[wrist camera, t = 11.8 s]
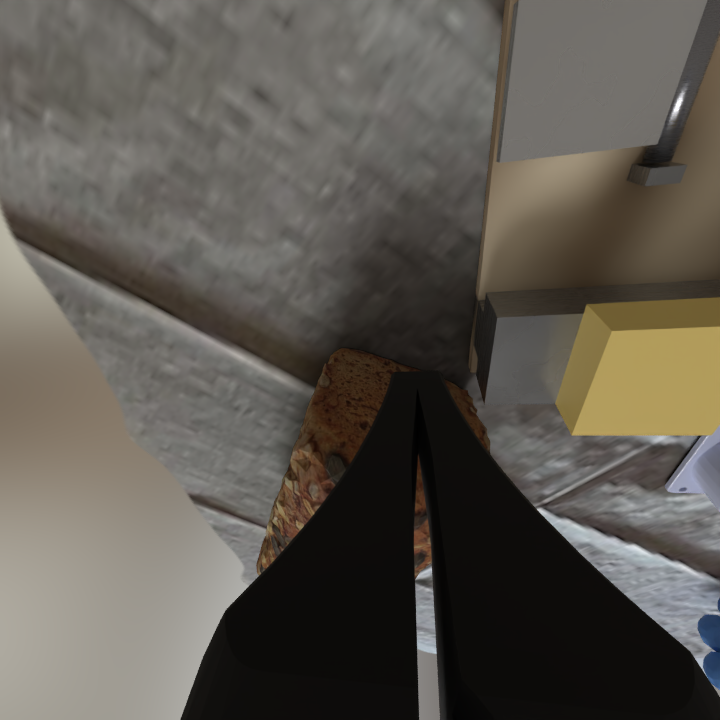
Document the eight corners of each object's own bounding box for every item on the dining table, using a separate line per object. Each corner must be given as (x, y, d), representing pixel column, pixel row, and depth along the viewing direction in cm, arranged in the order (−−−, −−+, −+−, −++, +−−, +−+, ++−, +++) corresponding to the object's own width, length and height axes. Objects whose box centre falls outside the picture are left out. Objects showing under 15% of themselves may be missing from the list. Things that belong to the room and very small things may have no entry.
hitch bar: (997, -137, 9) (1518, -352, 5) (707, 344, 19) (799, 414, 14) (509, -42, 11) (577, -137, 7) (469, 351, 20) (487, 416, 16)
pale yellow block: (682, 261, 15) (795, 323, 11) (637, 357, 18) (711, 435, 14) (554, 270, 16) (612, 330, 12) (532, 360, 19) (571, 435, 15)
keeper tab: (741, -61, 10) (769, -74, 9) (661, 158, 13) (678, 160, 12) (514, -22, 11) (524, -32, 10) (492, 177, 14) (499, 181, 13)
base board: (961, -130, 9) (1002, -147, 9) (683, 358, 19) (692, 367, 19) (509, -42, 11) (515, -51, 10) (468, 364, 21) (470, 372, 20)
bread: (330, 332, 21) (286, 469, 13) (483, 384, 22) (529, 537, 14) (278, 485, 32) (237, 610, 24) (382, 514, 33) (376, 642, 25)
